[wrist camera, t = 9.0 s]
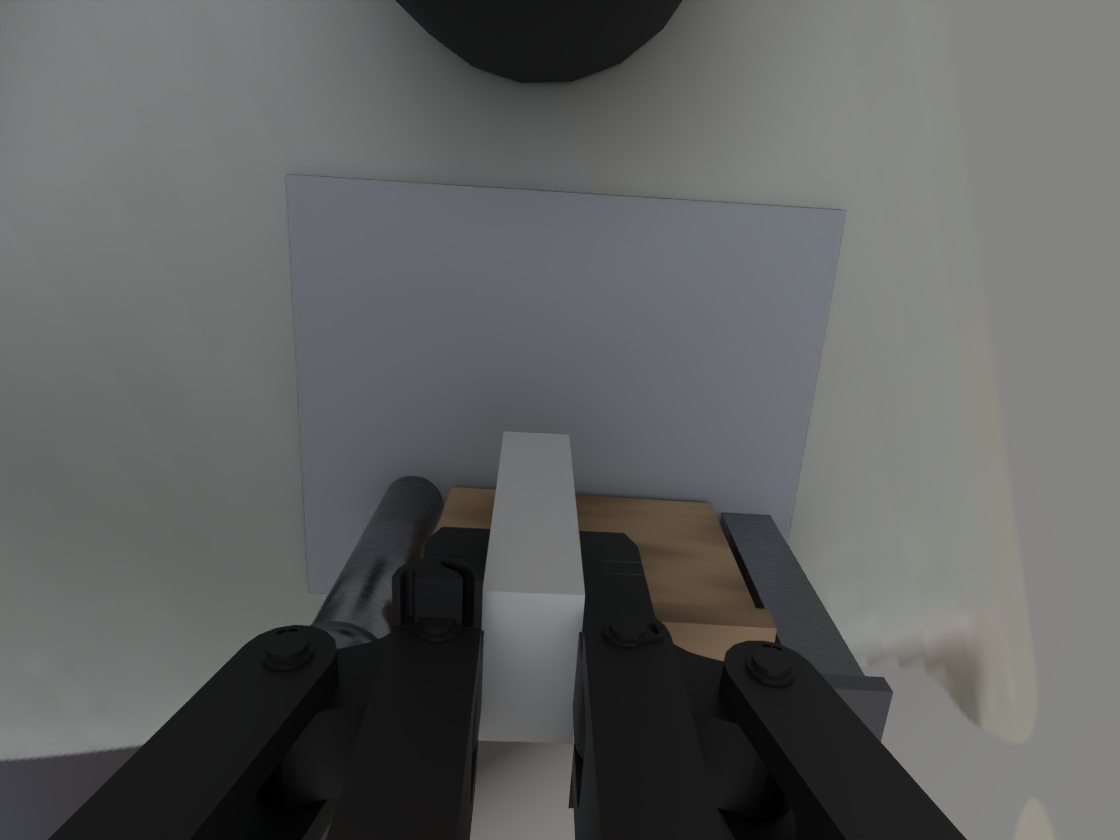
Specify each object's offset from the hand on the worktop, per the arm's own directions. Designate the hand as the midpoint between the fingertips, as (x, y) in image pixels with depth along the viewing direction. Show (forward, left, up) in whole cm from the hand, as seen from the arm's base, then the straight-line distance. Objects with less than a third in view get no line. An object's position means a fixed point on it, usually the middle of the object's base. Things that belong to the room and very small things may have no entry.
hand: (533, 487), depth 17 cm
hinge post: (-5, -6, -12) cm, 15 cm away
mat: (0, -2, -12) cm, 12 cm away
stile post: (+8, -7, -12) cm, 16 cm away
